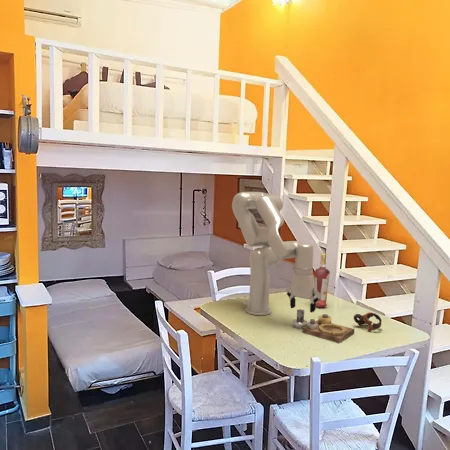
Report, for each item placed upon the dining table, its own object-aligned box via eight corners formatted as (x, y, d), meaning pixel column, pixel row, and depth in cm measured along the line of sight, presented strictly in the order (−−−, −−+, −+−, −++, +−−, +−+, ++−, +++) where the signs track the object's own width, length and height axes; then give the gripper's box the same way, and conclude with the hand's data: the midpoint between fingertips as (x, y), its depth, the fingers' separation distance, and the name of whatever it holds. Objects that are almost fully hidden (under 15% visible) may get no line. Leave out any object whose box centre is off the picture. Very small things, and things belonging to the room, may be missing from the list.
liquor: (324, 309, 220) (327, 255, 217) (310, 307, 225) (314, 253, 221) (329, 306, 227) (333, 253, 223) (316, 303, 231) (319, 251, 227)
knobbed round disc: (289, 326, 194) (290, 310, 193) (297, 323, 199) (298, 307, 198) (302, 330, 190) (303, 313, 189) (309, 326, 195) (310, 310, 194)
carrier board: (302, 332, 187) (303, 318, 187) (318, 323, 199) (319, 311, 198) (339, 343, 177) (340, 328, 176) (354, 333, 188) (355, 320, 188)
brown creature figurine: (376, 326, 201) (383, 314, 196) (376, 341, 193) (383, 329, 188) (351, 317, 203) (357, 305, 198) (349, 331, 195) (356, 319, 190)
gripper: (282, 270, 194) (281, 307, 196) (317, 275, 183) (316, 315, 185) (290, 267, 200) (289, 304, 201) (325, 273, 189) (324, 311, 191)
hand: (302, 309), depth 193 cm, fingers open, 9 cm apart
